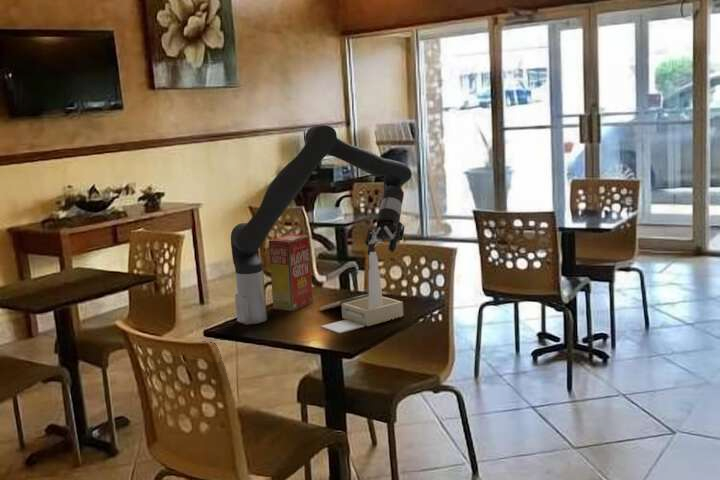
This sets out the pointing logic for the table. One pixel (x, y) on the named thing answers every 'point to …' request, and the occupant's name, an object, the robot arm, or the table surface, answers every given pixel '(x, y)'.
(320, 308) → the lid
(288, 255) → the food packaging
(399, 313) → the case
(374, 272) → the cosmetic bottle
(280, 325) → the table surface
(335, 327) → the mat
